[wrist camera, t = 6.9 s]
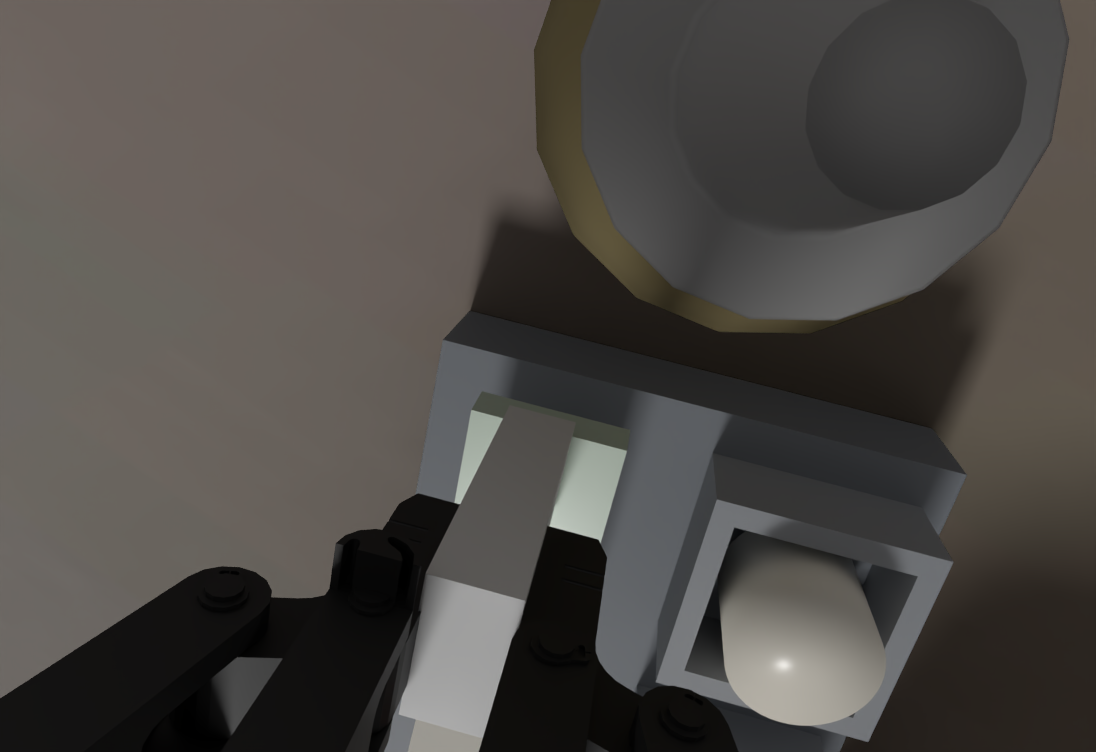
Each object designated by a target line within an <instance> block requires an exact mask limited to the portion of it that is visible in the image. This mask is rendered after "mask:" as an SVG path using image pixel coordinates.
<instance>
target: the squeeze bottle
mask: <svg viewBox="0 0 1096 752" xmlns="http://www.w3.org/2000/svg"><path fill="white" fill-rule="evenodd" d="M1068 44H1069V36H1068V32H1067V28H1066V24H1065V20H1064V16H1063V12H1062V8H1061V3H1060V0H551V3H550V6H549V8H548V11H547V14H546V17H545V20H544V23H543V26H542V29H541V32H540V34H539V37H538V40H537V43H536V46H535V49H534V63H535V97H536V132H537V151H538V153H539V155H540V158H541V160H542V162H543V165H544V167H545V170H546V172H547V174H548V177H549V179H550V181H551V184H552V186H553V188H554V191H555V193H556V195H557V198H558V200H559V202H560V205H561V207H562V209H563V212H564V214H565V216H566V219H567V221H568V224H569V226H570V228H571V231H572V233H573V235H574V236H575V237H576V238H577V239H578V240H579V241H580V242H581V243H582V244H583V245H584V246H585V247H586V248H587V249H588V250H589V251H590V252H591V253H592V254H593V255H594V256H595V257H596V258H597V259H598V260H599V261H600V262H601V263H602V264H603V265H604V266H605V267H606V268H607V269H608V270H609V271H610V272H611V273H612V274H613V275H614V276H615V277H616V278H617V279H618V280H619V281H620V282H621V283H622V284H623V285H624V286H625V287H626V288H627V289H628V290H629V291H630V292H631V293H632V294H633V295H634V296H635V297H636V298H638V299H641V300H643V301H646V302H648V303H650V304H653V305H655V306H658V307H660V308H662V309H665V310H667V311H670V312H672V313H674V314H677V315H679V316H682V317H684V318H686V319H689V320H691V321H694V322H696V323H698V324H701V325H703V326H706V327H708V328H711V329H713V330H715V331H718V332H757V333H813V332H816V331H819V330H822V329H824V328H827V327H830V326H833V325H836V324H839V323H841V322H844V321H847V320H850V319H853V318H856V317H858V316H861V315H864V314H867V313H870V312H873V311H875V310H878V309H881V308H884V307H887V306H890V305H892V304H895V303H898V302H901V301H903V300H904V299H905V298H907V297H908V296H909V295H910V294H913V293H915V292H918V291H921V290H923V289H925V288H926V287H927V286H928V285H930V284H931V283H932V282H933V281H935V280H936V279H937V278H938V277H939V276H941V275H942V274H943V273H944V272H946V271H947V270H948V269H949V268H950V267H952V266H953V265H954V264H955V263H957V262H958V261H959V260H960V259H962V258H963V257H964V256H965V255H966V254H968V253H969V252H970V251H971V250H973V249H974V248H975V247H976V246H977V245H979V244H980V243H981V242H982V241H984V240H985V239H986V238H987V237H989V236H990V235H991V234H992V233H993V232H995V231H996V230H997V229H998V228H999V227H1000V225H1001V224H1002V222H1003V220H1004V219H1005V217H1006V215H1007V214H1008V212H1009V210H1010V209H1011V207H1012V205H1013V204H1014V202H1015V200H1016V199H1017V197H1018V195H1019V194H1020V192H1021V191H1022V189H1023V187H1024V186H1025V184H1026V182H1027V181H1028V179H1029V177H1030V176H1031V174H1032V172H1033V171H1034V169H1035V167H1036V166H1037V164H1038V162H1039V161H1040V159H1041V157H1042V156H1043V154H1044V152H1045V151H1046V149H1047V147H1048V146H1049V144H1050V142H1051V140H1052V134H1053V129H1054V123H1055V117H1056V112H1057V106H1058V100H1059V95H1060V89H1061V83H1062V78H1063V72H1064V66H1065V61H1066V55H1067V49H1068Z"/></svg>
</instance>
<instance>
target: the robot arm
mask: <svg viewBox="0 0 1096 752" xmlns="http://www.w3.org/2000/svg"><path fill="white" fill-rule="evenodd" d="M575 424H576V422H573V421H569V420H565V419H561V418H557V417H553V416H550V415H546V414H542V413H538V412H534V411H530V410H527V409H523V408H519V407H515V406H511V405H510V406H509V408H508V410H507V412H506V414H505V416H504V418H503V420H502V422H501V424H500V426H499V428H498V430H497V432H496V434H495V436H494V438H493V440H492V442H491V444H490V446H489V448H488V450H487V452H486V454H485V456H484V458H483V460H482V462H481V464H480V466H479V468H478V470H477V472H476V474H475V476H474V478H473V480H472V482H471V484H470V486H469V488H468V490H467V492H466V494H465V496H464V498H463V500H462V502H461V504H457V503H453V502H449V501H445V500H442V499H438V498H434V497H431V496H427V495H423V494H419V493H418V494H416V495H414V496H412V497H410V498H409V499H407V500H405V501H403V502H401V503H400V504H399V505H398V506H397V508H396V510H395V511H394V513H393V514H392V516H391V517H390V519H389V522H387V524H386V525H385V527H384V528H383V530H378V529H371V530H359V531H356V532H353V533H351V534H348V535H345V536H344V537H343V538H342V539H340V540H339V541H338V542H337V543H336V546H335V553H334V560H333V567H332V575H331V582H330V589H329V590H328V592H327V593H326V595H324V596H319V597H314V598H298V599H296V598H272V597H271V593H272V590H271V588H270V586H269V584H268V582H267V580H265V579H264V578H263V577H261V576H260V575H259V574H257V573H256V572H253V571H250V570H247V569H243V568H240V567H216V568H210V569H205V570H202V571H200V572H198V573H195V574H193V575H191V576H189V577H187V578H185V579H184V580H182V581H181V582H179V583H178V584H176V585H175V586H173V587H172V588H170V589H168V590H167V591H165V592H164V593H162V594H161V595H159V596H158V597H156V598H155V599H153V600H152V601H150V602H148V603H147V604H145V605H144V606H142V607H141V608H139V609H138V610H136V611H135V612H133V613H131V614H130V615H128V616H127V617H125V618H124V619H122V620H121V621H119V622H118V623H116V624H114V625H113V626H111V627H110V628H108V629H107V630H105V631H104V632H102V633H101V634H99V635H98V636H96V637H94V638H93V639H91V640H90V641H88V642H87V643H85V644H84V645H82V646H81V647H79V648H77V649H76V650H74V651H73V652H71V653H70V654H68V655H67V656H65V657H64V658H62V659H61V660H59V661H57V662H56V663H54V664H53V665H51V666H50V667H48V668H47V669H45V670H44V671H42V672H40V673H39V674H37V675H36V676H34V677H33V678H31V679H30V680H28V681H27V682H25V683H23V684H22V685H20V686H19V687H17V688H16V689H14V690H13V691H11V692H10V693H8V694H7V695H5V696H3V697H2V698H0V752H384V751H385V748H386V746H387V744H388V741H389V736H390V731H391V725H392V720H393V716H394V713H395V711H396V709H397V707H398V704H399V702H400V700H401V697H402V700H401V705H400V710H399V715H402V716H406V717H409V718H413V719H416V720H420V721H423V722H427V723H430V724H434V725H437V726H441V727H444V728H448V729H451V730H455V731H458V732H462V733H465V734H469V735H472V736H476V737H479V738H483V739H482V742H481V746H480V749H479V752H739V751H738V749H737V746H736V743H735V741H734V738H733V735H732V733H731V730H730V727H729V725H728V723H727V721H726V720H725V718H724V716H723V715H722V713H721V711H720V710H719V709H718V708H717V707H715V706H714V705H713V704H712V703H711V702H710V701H709V700H708V699H707V698H705V697H703V696H701V695H699V694H697V693H696V692H694V691H692V690H689V689H685V688H681V687H677V686H658V687H656V688H654V689H652V690H649V691H647V692H646V693H645V694H644V696H641V695H639V694H637V693H635V692H634V691H632V690H630V689H628V688H626V687H625V686H623V685H622V684H620V683H619V682H617V681H616V680H615V679H614V678H613V677H612V676H611V675H609V674H608V673H607V672H606V670H605V669H604V667H603V666H602V665H601V663H600V662H599V659H598V656H597V654H596V636H597V629H598V622H599V614H600V607H601V599H602V591H603V585H604V576H605V570H606V563H607V556H606V554H605V552H604V550H603V548H602V546H601V544H600V541H599V540H598V539H595V538H591V537H587V536H583V535H580V534H576V533H572V532H569V531H565V530H561V529H557V528H554V527H550V523H551V519H552V515H553V511H554V507H555V503H556V499H557V495H558V491H559V487H560V483H561V479H562V475H563V471H564V467H565V463H566V459H567V455H568V451H569V448H570V444H571V440H572V436H573V432H574V428H575Z"/></svg>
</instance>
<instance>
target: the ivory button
mask: <svg viewBox="0 0 1096 752" xmlns="http://www.w3.org/2000/svg"><path fill="white" fill-rule="evenodd" d="M717 578H718V593H719V605H720V617H721V630H722V642H723V654H724V667H725V671H726V676H727V678H728V681H729V683H730V685H731V687H732V689H733V690H734V692H735V693H736V694H737V696H738V697H739V698H740V699H741V700H742V701H743V702H744V703H745V704H746V705H747V706H749V707H750V708H751V709H753V710H754V711H756V712H757V713H759V714H761V715H763V716H765V717H767V718H769V719H772V720H775V721H778V722H782V723H786V724H791V725H801V726H812V725H822V724H827V723H832V722H835V721H838V720H841V719H843V718H846V717H848V716H850V715H852V714H854V713H855V712H857V711H858V710H860V709H861V708H863V707H864V706H865V705H866V704H867V703H868V702H869V701H870V700H871V699H872V698H873V697H874V695H875V694H876V693H877V691H878V690H879V688H880V686H881V684H882V681H883V679H884V676H885V671H886V654H885V649H884V646H883V643H882V640H881V637H880V635H879V632H878V629H877V626H876V624H875V621H874V618H873V616H872V613H871V610H870V607H869V605H868V602H867V599H866V597H865V594H864V591H863V588H862V586H861V583H860V580H859V578H858V575H857V572H856V569H855V567H854V564H853V561H852V559H851V558H847V557H843V556H839V555H836V554H832V553H828V552H825V551H821V550H817V549H813V548H810V547H806V546H802V545H798V544H795V543H791V542H787V541H783V540H780V539H776V538H772V537H768V536H765V535H761V534H757V533H753V532H750V531H745V532H744V533H743V534H741V535H740V536H738V537H737V538H736V539H735V540H734V541H733V542H732V543H731V544H730V545H729V547H728V548H727V550H726V553H725V556H724V558H723V561H722V564H721V567H720V570H719V573H718V576H717Z"/></svg>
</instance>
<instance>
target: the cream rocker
mask: <svg viewBox="0 0 1096 752" xmlns="http://www.w3.org/2000/svg"><path fill="white" fill-rule="evenodd" d="M482 739H483V738H479V737H476V736H472V735H469V734H465V733H462V732H458V731H455V730H451V729H448V728H444V727H441V726H437V725H434V724H430V723H427V722H423V721H420V720H416V721H415V725H414V729H413V733H412V737H411V741H410V745H409V749H408V752H479V749H480V746H481V742H482Z"/></svg>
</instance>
